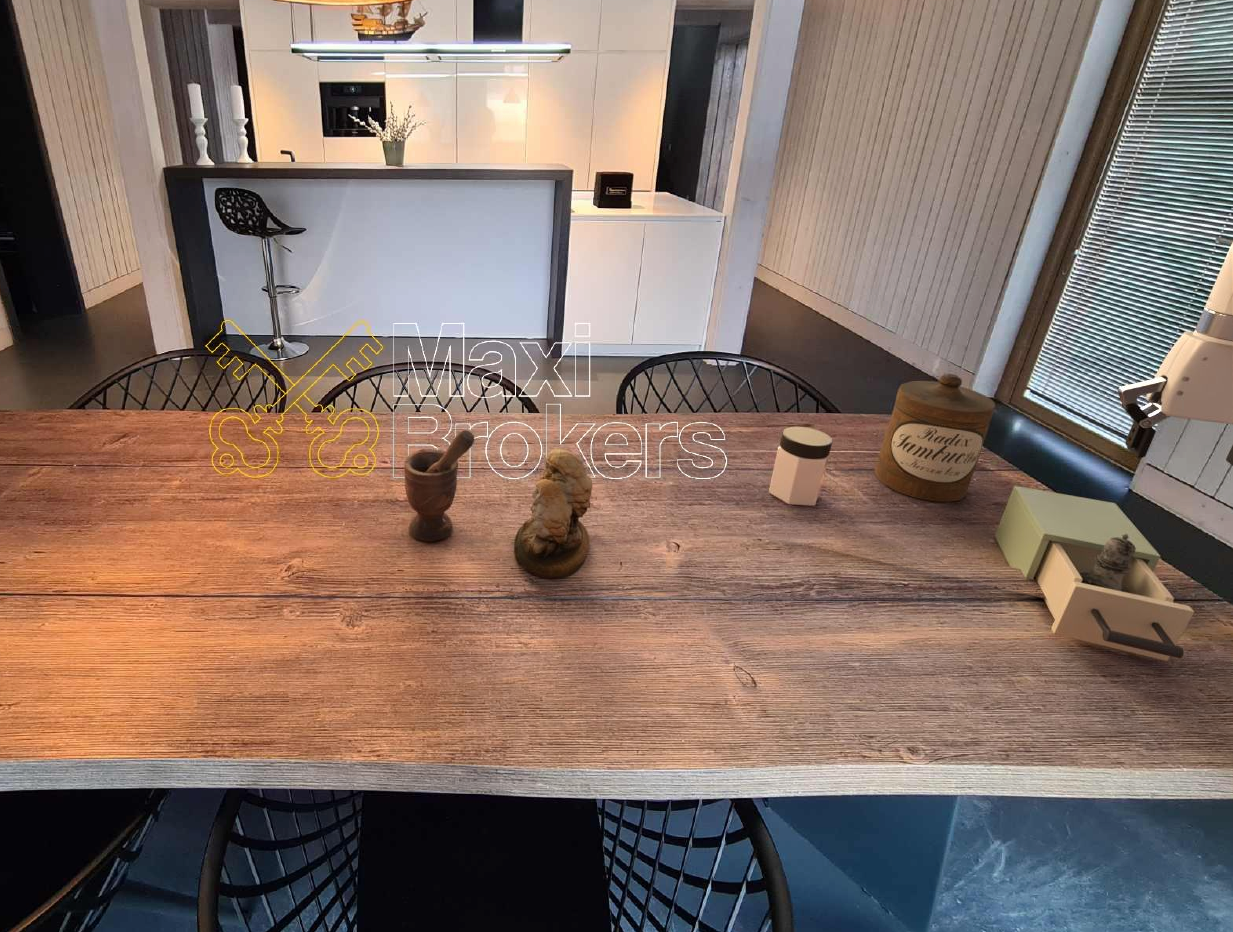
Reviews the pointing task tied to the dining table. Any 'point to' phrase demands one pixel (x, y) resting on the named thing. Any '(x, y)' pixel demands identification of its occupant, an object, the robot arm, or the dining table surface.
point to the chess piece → (1111, 564)
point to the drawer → (1111, 604)
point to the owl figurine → (556, 519)
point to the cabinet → (1062, 527)
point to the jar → (800, 465)
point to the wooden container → (934, 439)
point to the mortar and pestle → (434, 487)
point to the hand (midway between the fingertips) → (1184, 459)
